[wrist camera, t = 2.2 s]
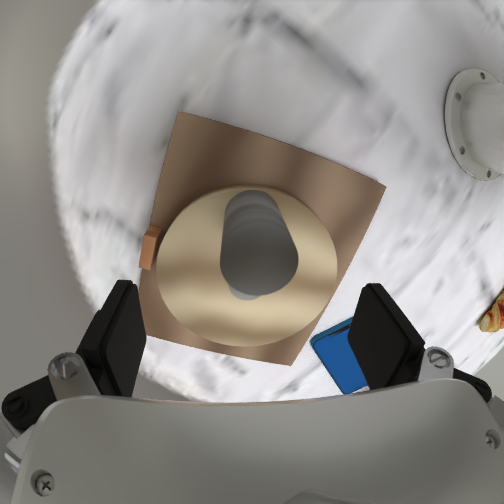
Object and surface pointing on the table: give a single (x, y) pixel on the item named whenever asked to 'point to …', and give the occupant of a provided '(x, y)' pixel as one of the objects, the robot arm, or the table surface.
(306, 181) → the board
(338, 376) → the smartphone
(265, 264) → the dial
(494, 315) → the croissant
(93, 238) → the table surface
